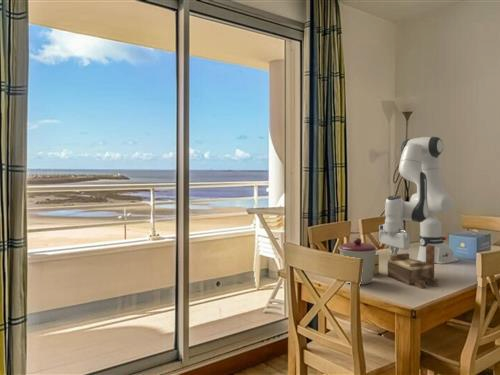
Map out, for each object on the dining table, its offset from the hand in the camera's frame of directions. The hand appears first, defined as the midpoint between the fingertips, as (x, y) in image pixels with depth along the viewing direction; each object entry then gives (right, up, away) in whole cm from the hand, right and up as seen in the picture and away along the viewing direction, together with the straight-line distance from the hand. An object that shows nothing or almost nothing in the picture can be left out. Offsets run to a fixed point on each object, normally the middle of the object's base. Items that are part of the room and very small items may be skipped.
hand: (393, 254), depth 208 cm
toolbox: (+5, -10, -13) cm, 17 cm away
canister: (-22, -11, -13) cm, 27 cm away
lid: (+4, -3, -11) cm, 12 cm away
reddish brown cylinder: (+14, -10, -10) cm, 20 cm away
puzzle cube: (-14, -10, +2) cm, 17 cm away
